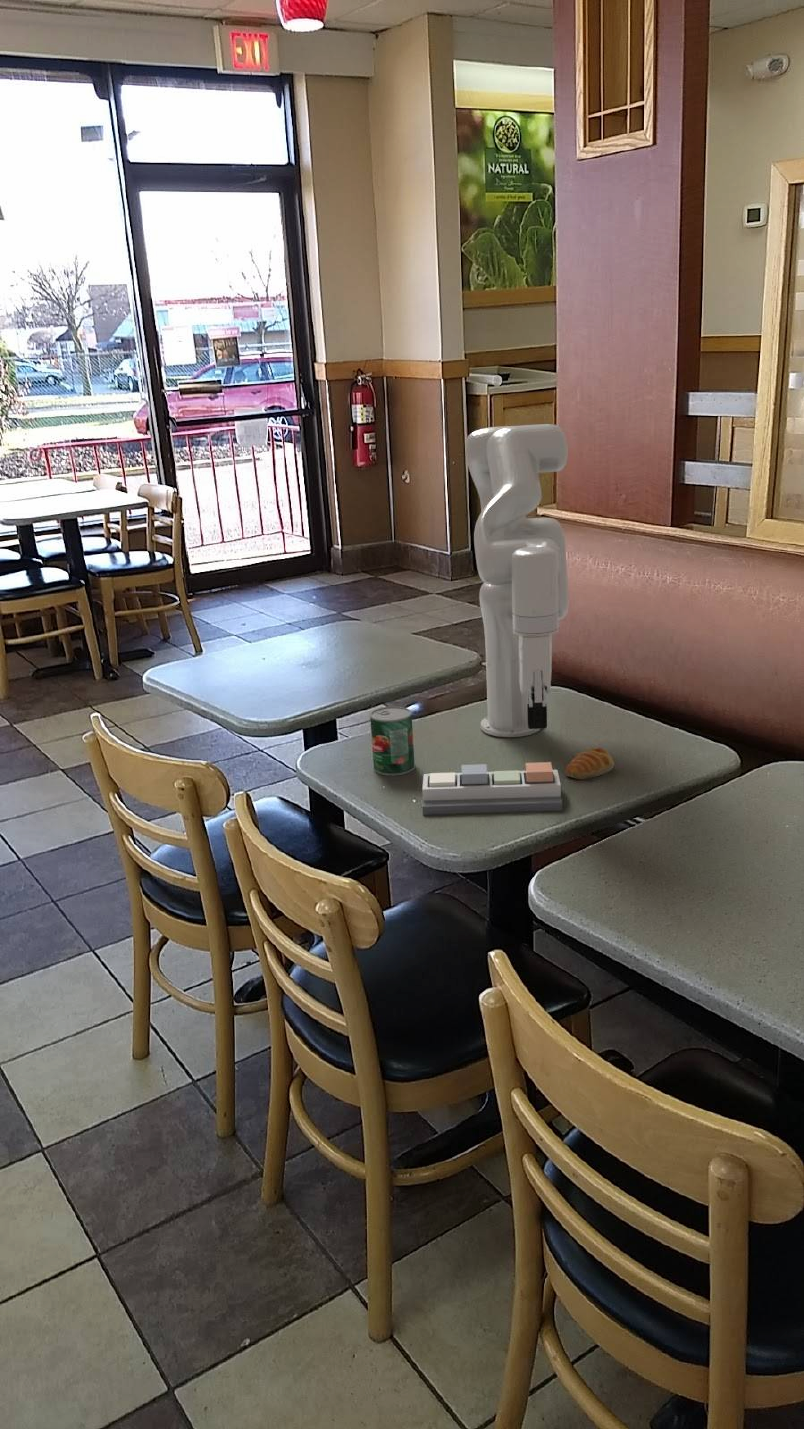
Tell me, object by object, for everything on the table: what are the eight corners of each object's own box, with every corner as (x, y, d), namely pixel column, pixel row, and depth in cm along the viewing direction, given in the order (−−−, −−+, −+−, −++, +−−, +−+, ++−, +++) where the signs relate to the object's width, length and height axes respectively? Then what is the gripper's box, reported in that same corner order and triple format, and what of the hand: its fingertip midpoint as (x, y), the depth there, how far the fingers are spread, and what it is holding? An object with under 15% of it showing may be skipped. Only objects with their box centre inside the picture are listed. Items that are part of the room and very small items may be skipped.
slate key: (461, 774, 194) (461, 765, 194) (486, 773, 194) (486, 764, 193) (461, 784, 190) (461, 774, 189) (487, 783, 190) (487, 773, 189)
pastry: (585, 785, 197) (585, 765, 196) (556, 776, 202) (555, 757, 200) (617, 769, 203) (617, 750, 202) (587, 761, 208) (587, 742, 206)
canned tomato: (423, 765, 210) (420, 710, 206) (396, 778, 204) (393, 723, 200) (391, 757, 214) (388, 703, 211) (364, 770, 209) (360, 715, 205)
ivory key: (430, 782, 195) (430, 773, 194) (455, 781, 195) (455, 772, 194) (429, 792, 191) (429, 782, 190) (455, 791, 190) (454, 782, 190)
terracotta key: (525, 772, 193) (525, 762, 193) (551, 771, 193) (550, 762, 192) (527, 782, 189) (526, 772, 189) (552, 781, 189) (552, 771, 188)
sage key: (494, 780, 194) (493, 771, 194) (519, 779, 194) (518, 770, 193) (494, 790, 190) (494, 780, 189) (520, 789, 190) (520, 780, 189)
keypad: (425, 787, 199) (424, 768, 198) (556, 783, 198) (556, 764, 197) (422, 814, 188) (421, 795, 187) (562, 810, 186) (561, 790, 185)
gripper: (511, 612, 189) (513, 713, 195) (514, 635, 175) (517, 743, 181) (555, 611, 189) (556, 712, 195) (562, 633, 175) (563, 741, 181)
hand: (537, 726), depth 188 cm, fingers closed
